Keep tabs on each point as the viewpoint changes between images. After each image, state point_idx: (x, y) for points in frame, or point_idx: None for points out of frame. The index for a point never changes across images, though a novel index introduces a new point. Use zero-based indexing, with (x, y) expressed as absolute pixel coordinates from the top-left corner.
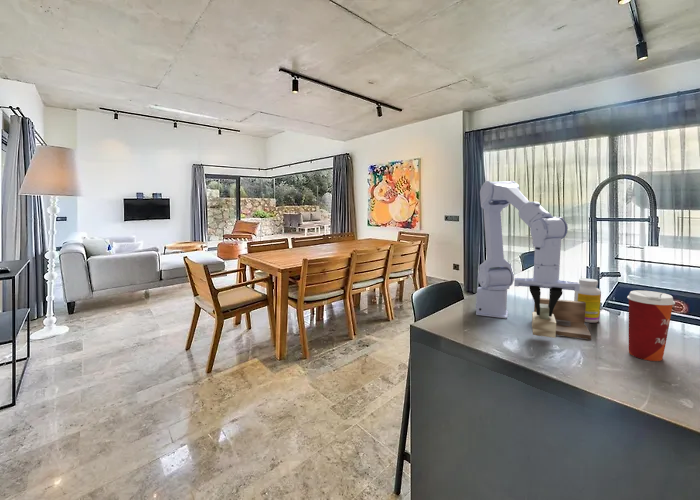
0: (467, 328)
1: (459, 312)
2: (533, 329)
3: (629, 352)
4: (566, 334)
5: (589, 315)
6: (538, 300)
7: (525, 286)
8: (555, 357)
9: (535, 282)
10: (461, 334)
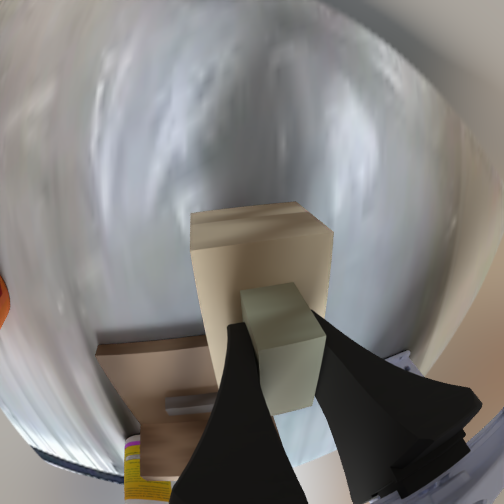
0: (448, 240)
1: (434, 340)
2: (304, 210)
3: (3, 284)
4: (165, 345)
5: (139, 450)
6: (369, 377)
7: (475, 435)
8: (188, 89)
9: (499, 489)
10: (463, 182)
